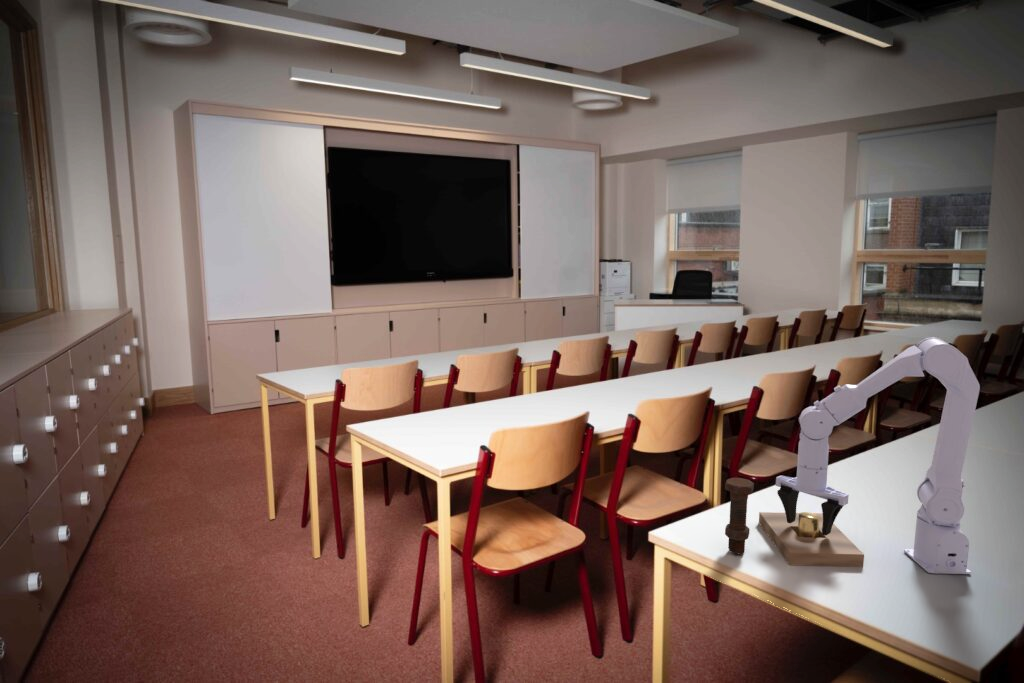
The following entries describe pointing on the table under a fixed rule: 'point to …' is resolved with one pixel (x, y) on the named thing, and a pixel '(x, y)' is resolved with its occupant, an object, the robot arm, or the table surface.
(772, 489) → the table surface
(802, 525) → the pin
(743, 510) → the bolt
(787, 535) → the slot block
